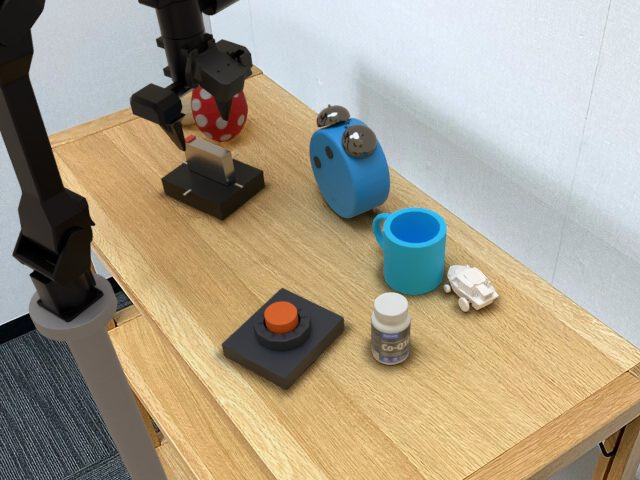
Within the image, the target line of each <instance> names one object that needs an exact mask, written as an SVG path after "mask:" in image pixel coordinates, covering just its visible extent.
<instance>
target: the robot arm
mask: <svg viewBox="0 0 640 480" xmlns="http://www.w3.org/2000/svg"><path fill="white" fill-rule="evenodd" d="M46 1H47V0H0V135H1V138H2V140H3V144H4V146H5V149H6V152H7V155H8V157H9V160H10V163H11V166H12V168H13V171H14V173H15V176H16V179H17V182H18V184H19V187H20V190H21V191H20V192H21V195H20V200H19V202H18V206H17V213H18V214H17V215H18V219H19V224H20V225H19V226H20V231H19V234H18V236H17V239H16V243H15V244H14V248H13V251H12V255H11V256H12V257H13V258H14V259H15V260H16V261H17V262H19V264H21V265H23V266H26V267H28V268H30V269H31V270H32V272H30V273H29V274H28V275H29V278H30V279H31V281H32V284H33V286H34V288H35V290H36V291H37V292H38V294H39V296H40V299H39V300H38V301H37V304H38V306H40V307H41V308H43V309H45V310H46V311H48V312H50V313H52V314H53V315H55V316H57V317H58V318H60V319H62V320H63V321H65V322H71V321H72V320H73V319H75V318H76V317H77V316H78V315H80V314H81V313H82V312H84V311H85V310H86V309H87V308H89V307H90V306H91V305H92V304H94V303H95V302H96V301H98V300H99V299H100V298H101V297H103V295H104V293H103V291H101V290H100V289H98V288H96V287H94V286H96V281H95V279H94V276H93V274H92V273H93V271H92V269H91V268H92V248H91V247H92V243H93V239H94V231H93V228H92V227H95V226H96V223H95V221H94V220H93V218H92V216H91V213H90V205H89V202H88V200H87V198H86V197H85V196H83V195H81V194H79V193H77V192H75V191H73V190H71V189H69V188H67V187H65V185H64V182H63V179H62V176H61V174H60V170H59V166H58V164H57V160H56V157H55V154H54V151H53V147H52V144H51V141H50V139H49V138H50V137H49V135H48V132H47V128H46V125H45V122H44V120H43V119H44V118H43V116H42V113H41V109H40V107H39V103H38V99H37V98H36V94H35V90H34V87H33V83H32V81H31V78H30V70H31V66H32V62H33V58H34V52H35V47H34V41H33V35H32V28H33V26H34V25H35V24H36V22H37V21H38V19H39V18H40V16H41V15H42V13H43V12H44V10H45V4H46ZM137 2H138V4H140V5H143V6H145V7H148V8H151V9H155V15H156V19H157V23H158V27H159V31H160V36H159V37H157V38H155V42H156V47H158V48H160V49H162V50H164V53H165V58H166V63H167V66H164V67H163V68H162V72H163V76H164V77H167V78H168V79H171V81H172V82H171V83H170V84H168V85H167V86H166V87H163V86H160V85H157V84H155V83H153V82H150V83H149V84H147V85H145V86H144V87H142V88H140V89H139V90H137V91H135V92H134V93H132V95H131V96H130V97H129V106H130V109H131V112H132V115H134V116H137V117H139V118H142V119H143V120H146V121H149V122H151V123H154V124H156V125H158V126H159V127H160V128H161V130H163V132H164V133H165V134H166V135H167V137H168V138H169V139H170V140H171V141H172V143H173V144H174V145H175V146H176V148H177V149H178V150H179V151H181V152H184V151H186V142H185V138H186V137H185V133H184V129H183V124H182V123H181V121H182V119H183V118H184V117H185V115H186V114H184V113H181V111H182V108H183V106H182V102H181V99H182V98H184V97H185V96H186V95H188V94H190V93H192V90H194V89H196V88H197V87H199V86H200V87H202V88H203V89H204V90H206V91H207V92H208V93H210V94H211V95H212V96H214V99H215V102H216V105H217V108H218V111H219V113H220V115H221V118H222V119H223V120H225V121H228V120H229V118H230V112H231V106H232V101H233V96H235V95H236V94H238V93H241V92H242V91H243V92H244V88H245V81H246V80H247V79H248V78H249V77H251V76H252V75H253V70H252V68H253V67H254V66H253V58H252V52H251V51H250V50H249V49H248V48H247V46H246V45H242V44H239V43H236V42H233V41H230V40H226V39H222V38H221V39H220V40H218V41H216V39H215V37H214V34H212V33H209V32H206V26H205V21H204V16H203V14H204V15H205V16H208V17H209V16H210V17H212V16H215V15H217V14H219V13H220V12H222V11H223V10H225V9H227V8H229V7H231V6H233V5H234V4H236V3H238V2H240V0H137ZM68 318H69V319H68Z"/></svg>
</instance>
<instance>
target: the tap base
mask: <svg viewBox="0 0 640 480" xmlns="http://www.w3.org/2000/svg"><path fill="white" fill-rule="evenodd" d="M239 156H240V154H239V153H236V154H235V155H233V156H232V160H233V166H234V171H235V177H236V180H234V181H233V182H232V183H231V184H229V185H228V186H226V185H224V184H222V183H219V182H217V181H215V180H212V179H210V178H208V177H205V176H203V175H201V174H198V173H196V172H193V171H191V170H189V169H188V165H187V161H186V160H183V161H182V162H181V164H180V165H178V166H177V167H175V168H174V169H172V170H171V171H170V172H168V173H167V174H165V175H164V176H162V177H161V178H160V180H161V184H162V188H163V191H164V196H167V197H170V198H172V199H174V200H176V201H178V202H180V203H183V204H185V205H187V206H188V207H191V208H194V209H195V210H198V211H199V212H200V211H201V212H202V213H204V214H207V215H209V216H211V217H213V218H215V219H217V220H219V221H225V220H226V219H227V218H229V217H230V216H231V215H233V214H234V213H235V212H236V211H237V210H239V209H240V208H241V207H243V206H244V205H245V204H246V203H247V202H249V201H250V200H251V199H252V198H253V197H254V196H256V195H257V194H259V193H260V192H261V191H262V190H263V189H264V188H266V181H265V174H264V170H262V169H260V168H257V167H255V166H252V165H250V164H247V163H245V162H243V161H241V160H238V159H237V158H238V157H239Z"/></svg>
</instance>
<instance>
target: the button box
mask: <svg viewBox="0 0 640 480" xmlns="http://www.w3.org/2000/svg"><path fill="white" fill-rule="evenodd" d="M282 301H283V302H289V303H291V304H293V305H294V306H295V307H296V309H297V314H298V325H297V327H296V328H295V329H294V330H293V331H292V332H289V333H286V334H275V333H272V332H270V331H269V330H268V329H267V327H266V322H265V316H264V313H265V310H266V309H267V307H268V306H270V305H271V304H273V303H276V302H282ZM345 329H346V328H345V317H344V316H342V315H340V314H338V313H336V312H334V311H331V310H330V309H328V308H325V307H324V306H322V305H320V304H317V303H315V302H313V301H311V300H309V299H307V298H306V297H302V296H300V295H298V294H297V293H294V292H292V291H290V290H288V289H286V288H284V287H281V288H279V290H278V291H276V292H275V294H274V295H272V296H271V297H270V298H269V299H268V300H267V301H266V302H265V303H264V304H263V305H261V307H259V308H258V309H257V310H256V311H255V312H254V313H252V315H251V316H250V317H249V318H248V319H246V320H245V322H244V323H242V324H241V325H240V326H239V327H238V328H237V329H236V330H235V331H234V332H233V333H231V334H230V335H229V336H228V337H227V338H226V339H225V340H224V341H223V342H222V343H221V349H222V351H223V352H222V353H223V356H224V357H226V358H227V359H230V360H231V361H232V362H235V363H237V364H239V365H240V366H242V367H244V368H245V369H248V370H249V371H251V372H253V373H255V374H256V375H258V376H260V377H262V378H263V379H266V380H267V381H268V382H271V383H273V384H275V385H276V386H278V387H280V388H282V389H283V390H286V391H288V390H289V388H290V387H291V386H292V385H293V384H294V383H295V382H296V381H297V380H298V379H299V377H301V376H302V375H303V374H304V373H305V372H306V371H307V370H308V368H309V367H311V365H312V364H313V363H314V362H315V361H316V360H317V359H318V358H319V357H320V356H321V355H322V354H323V352H325V350H326V349H327V348H328V347H330V345H331V344H333V342H334V341H335V340H336V339H337V338H338V337H339V335H341V334H342V333H343V331H344V330H345Z"/></svg>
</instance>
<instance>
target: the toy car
mask: <svg viewBox="0 0 640 480" xmlns="http://www.w3.org/2000/svg"><path fill="white" fill-rule="evenodd" d="M446 276H447V279H448V281H449V283H450V285H449V284H448V283H445V284H444V285H443V290H444V292H445V293H446V294H448V293H450V292H451V289H452V291H453V292H454V293H455V294H456V295H457V296H458V297H459V299H458V300H457V302H458V306H459V309H461V311H462V312H466V313H467V312H469V311H470V304H471V307H472V308H474V309H475V310H476V311H479V310H480V309H483V308H484V307H486V306H488V305H491V304H492V303H493V302H494V300H496V299H497V298H498V297H499V296H500V295H499V294H498V293H497V292H496V291H497V290H496V289H495V287H494V286H493V285H492V281H491V280H489V278H488V277H487V276H486V275H485V274H484V273H483V272H482V270H480V269H479V268H477V267H476V266H475V267H470V266H469V264H466V265H464V264H463V265H462V264H452V265H450V266H449V269H448V271H447V275H446Z"/></svg>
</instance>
